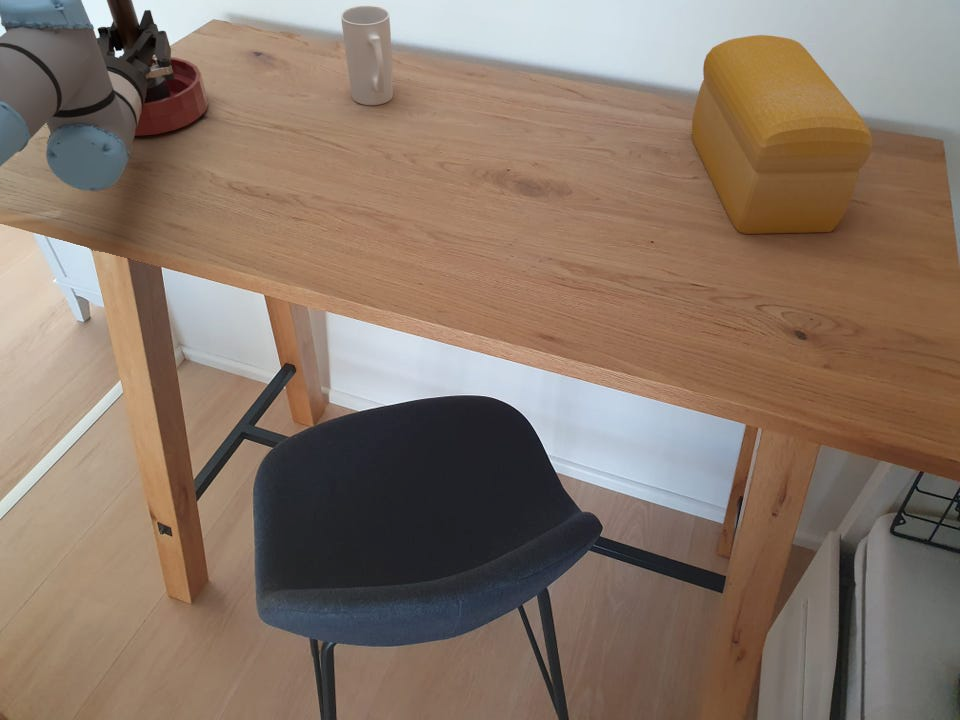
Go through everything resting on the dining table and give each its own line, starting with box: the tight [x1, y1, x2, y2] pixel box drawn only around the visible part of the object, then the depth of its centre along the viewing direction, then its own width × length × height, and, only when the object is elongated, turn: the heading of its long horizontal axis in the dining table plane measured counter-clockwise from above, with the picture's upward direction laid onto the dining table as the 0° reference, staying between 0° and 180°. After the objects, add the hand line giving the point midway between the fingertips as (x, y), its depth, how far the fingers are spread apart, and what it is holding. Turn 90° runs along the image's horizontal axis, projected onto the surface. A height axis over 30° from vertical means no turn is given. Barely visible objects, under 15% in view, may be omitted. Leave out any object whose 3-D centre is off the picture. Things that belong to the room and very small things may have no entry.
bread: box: [691, 34, 873, 235], centre depth 95 cm, size 24×13×15 cm, turn 3°
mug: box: [340, 5, 394, 106], centre depth 110 cm, size 10×7×12 cm, turn 21°
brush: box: [106, 0, 171, 103], centre depth 104 cm, size 6×6×16 cm
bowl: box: [134, 56, 209, 137], centre depth 109 cm, size 15×15×5 cm
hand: (136, 20), depth 107 cm, fingers closed on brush, 3 cm apart
